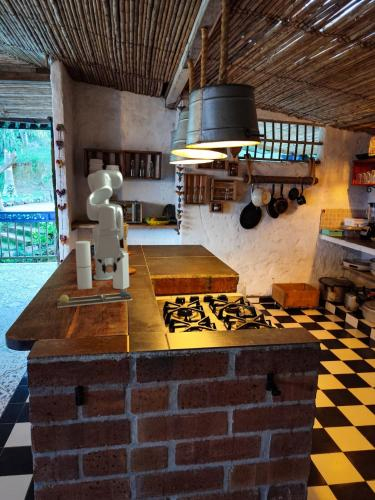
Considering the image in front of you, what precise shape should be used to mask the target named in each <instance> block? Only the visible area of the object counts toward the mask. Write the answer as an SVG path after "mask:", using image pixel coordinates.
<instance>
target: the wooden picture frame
mask: <svg viewBox="0 0 375 500" xmlns="http://www.w3.org/2000/svg"><path fill="white" fill-rule="evenodd" d="M98 295H99V296H95V295H88V296H89V297H85V296H77V297H78V298H74V297H69V301H77V302H67V303H59V302H60V298H57V302H56V306H57V307H58V306H68V305H78V304H88V303H98V302H103V298H102V295H103V294H98ZM98 298H100V299H98ZM88 299H98V300H88ZM78 300H87V301H78ZM98 304H99V303H98ZM88 305H89V304H88Z"/></svg>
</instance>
